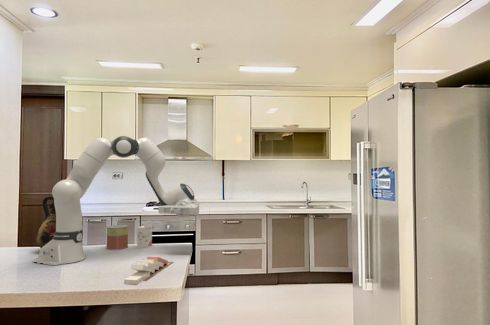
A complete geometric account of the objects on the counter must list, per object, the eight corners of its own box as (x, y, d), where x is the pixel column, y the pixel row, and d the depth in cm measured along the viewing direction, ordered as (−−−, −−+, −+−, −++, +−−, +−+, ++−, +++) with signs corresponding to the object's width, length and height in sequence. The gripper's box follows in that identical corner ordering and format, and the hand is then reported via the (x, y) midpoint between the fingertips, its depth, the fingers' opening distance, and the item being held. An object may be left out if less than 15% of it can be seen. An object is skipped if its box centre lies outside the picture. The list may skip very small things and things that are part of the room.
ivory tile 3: (158, 270, 129) (147, 266, 120) (147, 269, 130) (136, 265, 121) (159, 266, 129) (148, 262, 121) (148, 265, 130) (137, 261, 121)
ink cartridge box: (144, 244, 183) (144, 219, 183) (152, 245, 182) (152, 219, 182) (136, 248, 174) (136, 221, 175) (144, 248, 173) (144, 222, 174)
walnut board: (126, 282, 117) (126, 279, 117) (158, 263, 142) (158, 261, 142) (146, 284, 115) (146, 280, 115) (174, 264, 141) (174, 261, 141)
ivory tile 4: (154, 273, 125) (142, 269, 116) (142, 272, 126) (130, 268, 117) (155, 268, 126) (143, 265, 117) (143, 268, 126) (131, 264, 118)
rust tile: (167, 264, 137) (157, 261, 128) (156, 263, 138) (146, 260, 129) (167, 260, 138) (158, 257, 129) (157, 260, 138) (147, 256, 130)
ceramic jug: (75, 248, 175) (76, 195, 177) (60, 254, 160) (61, 196, 161) (44, 248, 175) (45, 195, 176) (26, 255, 159) (27, 197, 160)
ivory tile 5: (150, 275, 121) (136, 284, 112) (138, 275, 122) (124, 283, 112) (150, 271, 121) (136, 280, 112) (138, 271, 122) (124, 279, 112)
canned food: (120, 244, 184) (120, 224, 184) (132, 247, 177) (132, 226, 178) (102, 248, 174) (102, 226, 175) (113, 251, 168) (114, 228, 168)
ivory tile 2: (163, 267, 133) (153, 263, 124) (152, 266, 134) (141, 263, 125) (163, 263, 133) (153, 259, 125) (153, 262, 134) (142, 259, 126)
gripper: (165, 202, 165) (152, 204, 151) (201, 202, 161) (192, 205, 148) (164, 214, 165) (152, 217, 151) (201, 215, 161) (192, 218, 147)
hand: (172, 211), depth 149 cm, fingers closed
